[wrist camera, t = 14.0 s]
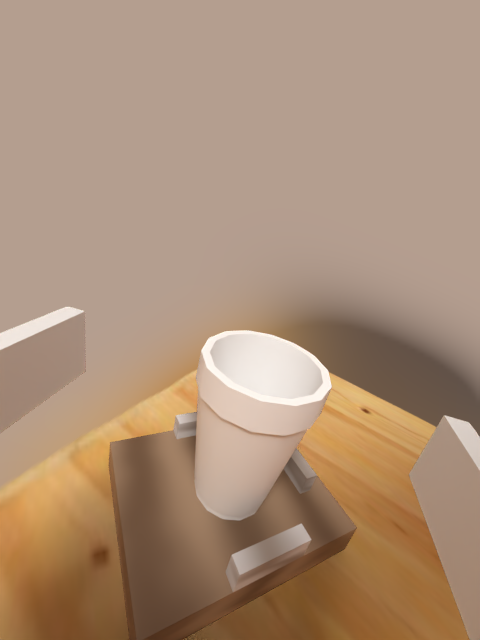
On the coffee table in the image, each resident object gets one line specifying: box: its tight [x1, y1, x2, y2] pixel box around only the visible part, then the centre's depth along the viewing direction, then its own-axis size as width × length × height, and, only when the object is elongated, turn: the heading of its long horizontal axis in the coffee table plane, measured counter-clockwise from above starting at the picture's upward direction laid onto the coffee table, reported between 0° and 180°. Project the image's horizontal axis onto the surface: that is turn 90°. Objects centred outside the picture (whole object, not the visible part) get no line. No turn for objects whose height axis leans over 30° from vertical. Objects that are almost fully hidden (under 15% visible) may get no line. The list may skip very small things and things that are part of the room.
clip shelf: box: [109, 412, 357, 640], centre depth 26 cm, size 18×14×5 cm
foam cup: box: [194, 330, 332, 521], centre depth 24 cm, size 10×9×13 cm
